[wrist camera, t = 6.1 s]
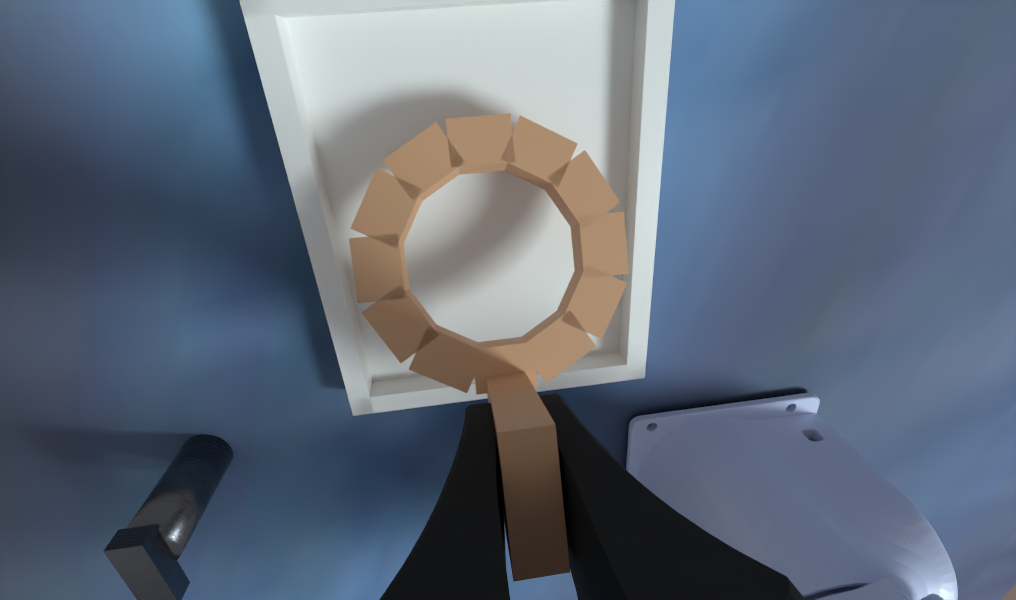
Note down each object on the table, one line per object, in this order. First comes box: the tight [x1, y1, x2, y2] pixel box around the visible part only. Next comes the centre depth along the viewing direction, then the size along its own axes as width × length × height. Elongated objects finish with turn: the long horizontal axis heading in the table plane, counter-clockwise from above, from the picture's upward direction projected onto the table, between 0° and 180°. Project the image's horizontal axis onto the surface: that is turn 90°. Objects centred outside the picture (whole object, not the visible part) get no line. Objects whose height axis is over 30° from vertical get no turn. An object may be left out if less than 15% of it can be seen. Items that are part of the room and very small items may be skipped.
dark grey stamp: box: [104, 435, 233, 600], centre depth 19 cm, size 2×3×5 cm, turn 4°
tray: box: [239, 0, 675, 416], centre depth 17 cm, size 12×14×2 cm
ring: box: [349, 113, 629, 581], centre depth 12 cm, size 11×8×6 cm
